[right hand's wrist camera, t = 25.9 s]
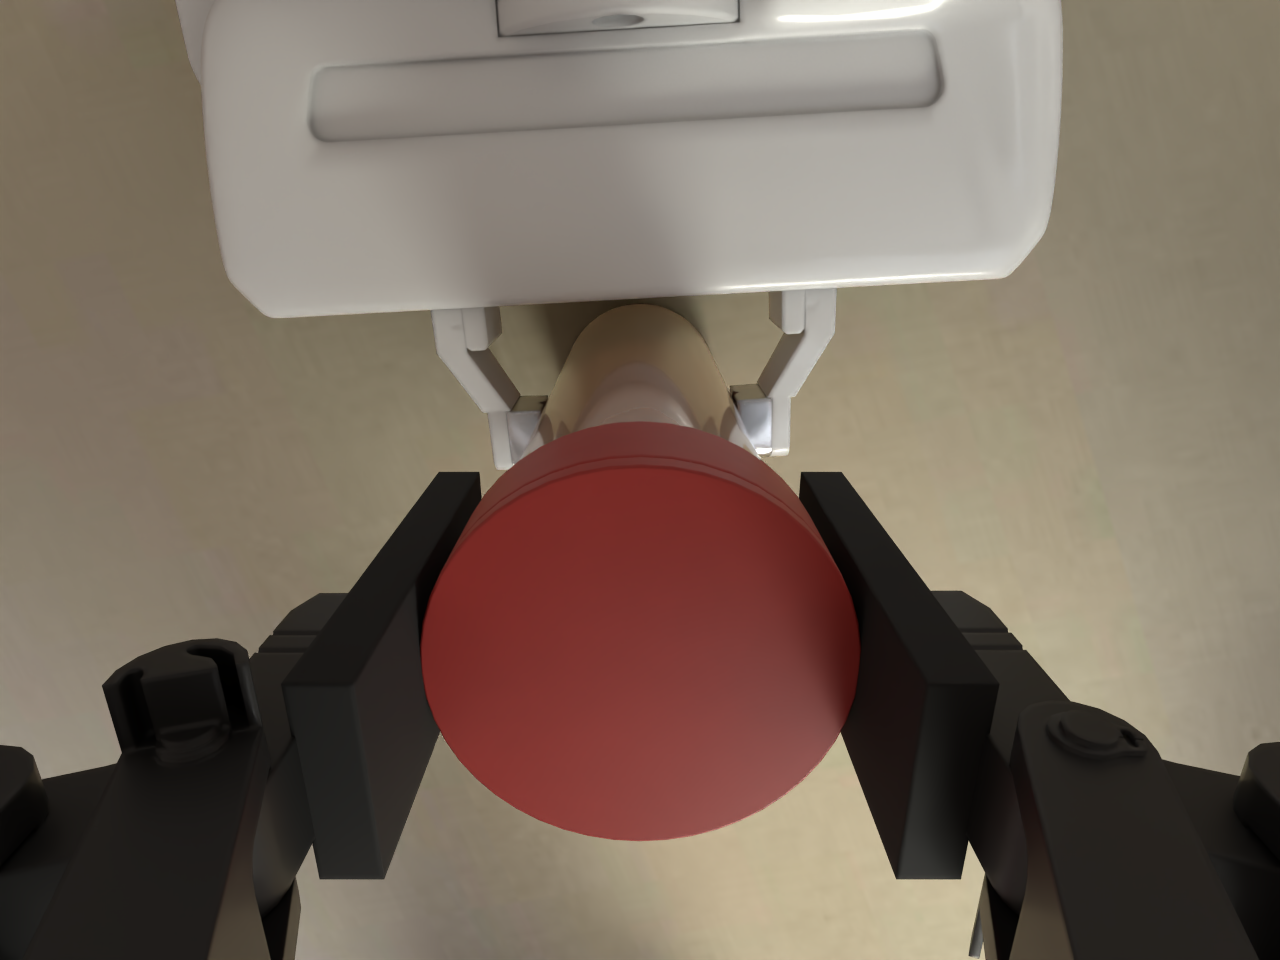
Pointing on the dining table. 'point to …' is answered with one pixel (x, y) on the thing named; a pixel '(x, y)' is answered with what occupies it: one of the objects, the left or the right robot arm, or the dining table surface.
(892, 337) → the dining table surface
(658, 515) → the lid
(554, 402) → the jar
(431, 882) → the dining table surface
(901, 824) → the right robot arm
